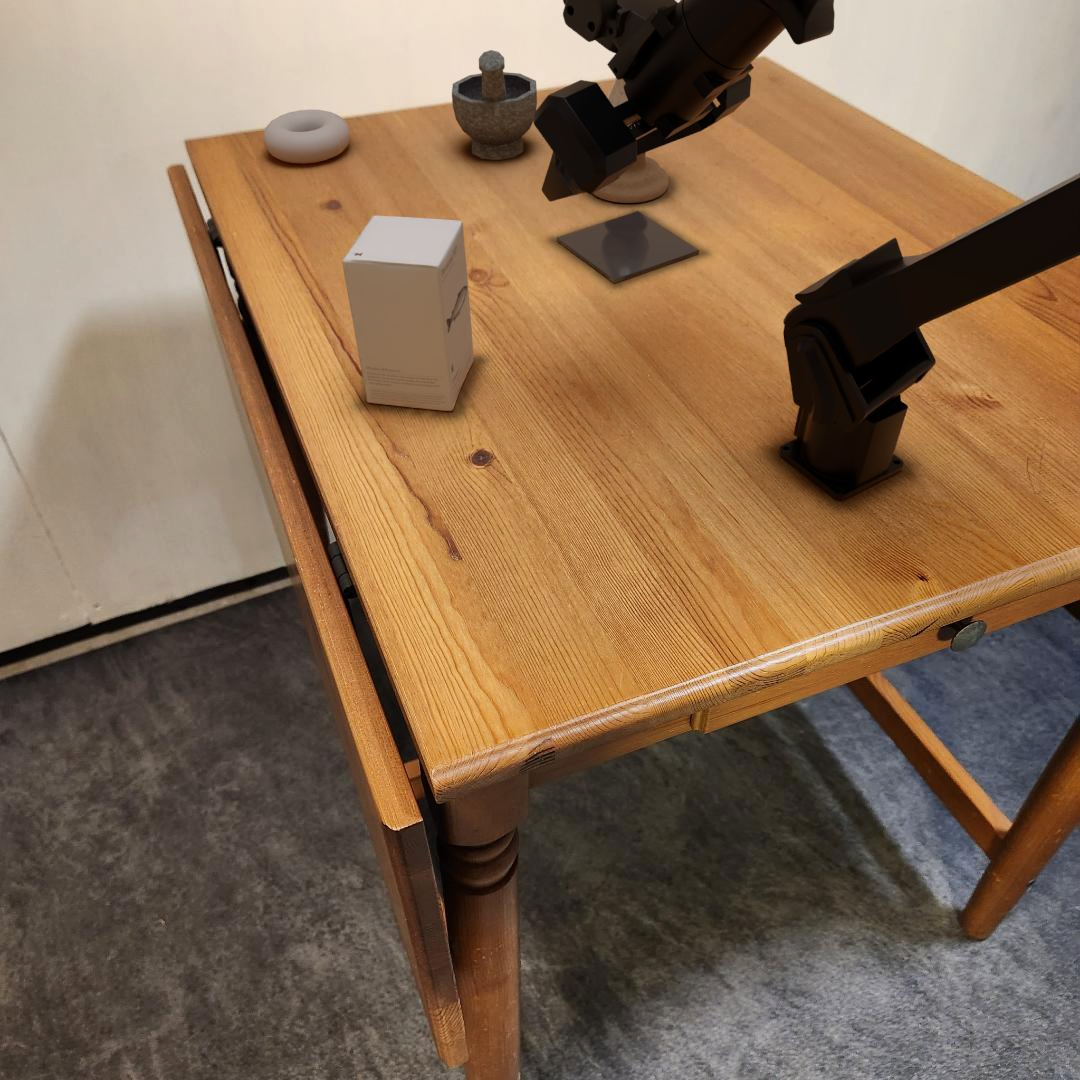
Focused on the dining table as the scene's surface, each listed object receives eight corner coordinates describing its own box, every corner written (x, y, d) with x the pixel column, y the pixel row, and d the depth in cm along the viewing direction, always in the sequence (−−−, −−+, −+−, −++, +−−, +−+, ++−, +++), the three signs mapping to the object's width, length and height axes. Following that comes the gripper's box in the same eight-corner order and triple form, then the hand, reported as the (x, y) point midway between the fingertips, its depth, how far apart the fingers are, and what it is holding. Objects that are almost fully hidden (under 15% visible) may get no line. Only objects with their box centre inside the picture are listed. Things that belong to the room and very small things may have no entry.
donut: (291, 131, 115) (250, 163, 108) (285, 102, 113) (243, 132, 106) (366, 139, 113) (329, 172, 106) (362, 109, 111) (324, 141, 104)
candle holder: (601, 209, 98) (607, -8, 84) (576, 174, 104) (578, -34, 90) (680, 197, 100) (699, -18, 85) (651, 164, 106) (664, -43, 91)
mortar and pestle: (458, 133, 113) (449, 24, 105) (536, 130, 113) (534, 21, 105) (455, 173, 105) (445, 59, 97) (539, 170, 105) (536, 56, 97)
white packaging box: (454, 413, 74) (438, 267, 65) (364, 404, 75) (337, 259, 66) (477, 361, 79) (465, 218, 70) (393, 352, 80) (371, 211, 71)
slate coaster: (698, 253, 91) (699, 249, 91) (614, 283, 88) (614, 279, 87) (637, 214, 97) (638, 210, 97) (556, 241, 94) (556, 237, 93)
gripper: (724, -112, 63) (596, 50, 76) (546, -53, 52) (434, 122, 65) (818, 32, 64) (677, 167, 77) (662, 116, 54) (530, 255, 67)
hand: (585, 174), depth 71 cm, fingers open, 9 cm apart
